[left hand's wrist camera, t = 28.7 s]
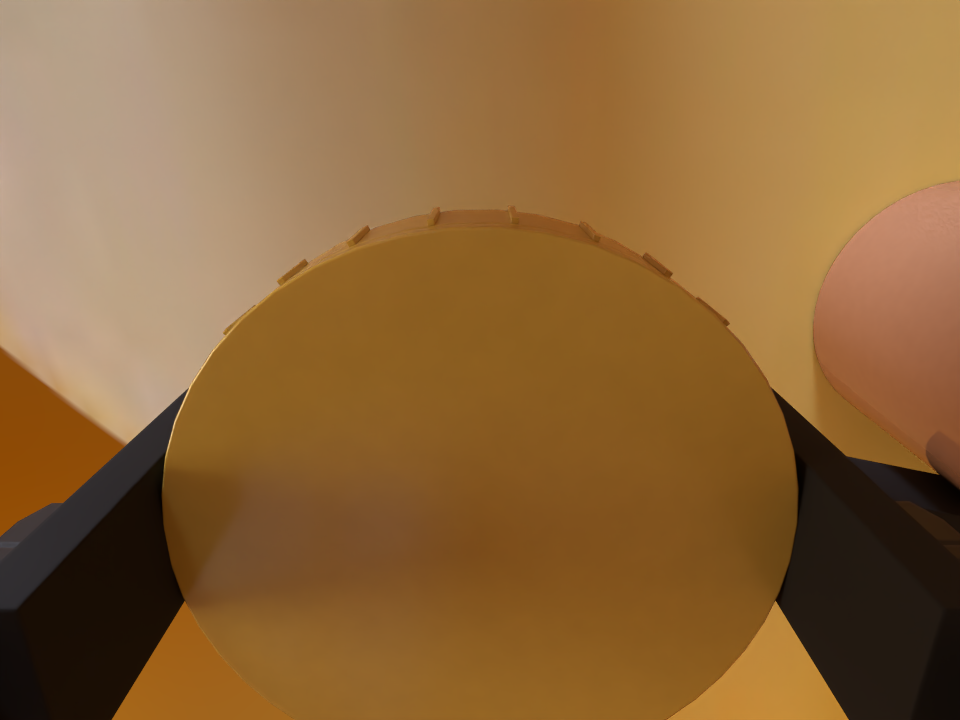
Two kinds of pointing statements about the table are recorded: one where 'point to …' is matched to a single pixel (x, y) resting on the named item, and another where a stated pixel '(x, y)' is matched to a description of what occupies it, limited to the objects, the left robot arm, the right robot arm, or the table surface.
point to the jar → (900, 324)
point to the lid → (480, 481)
